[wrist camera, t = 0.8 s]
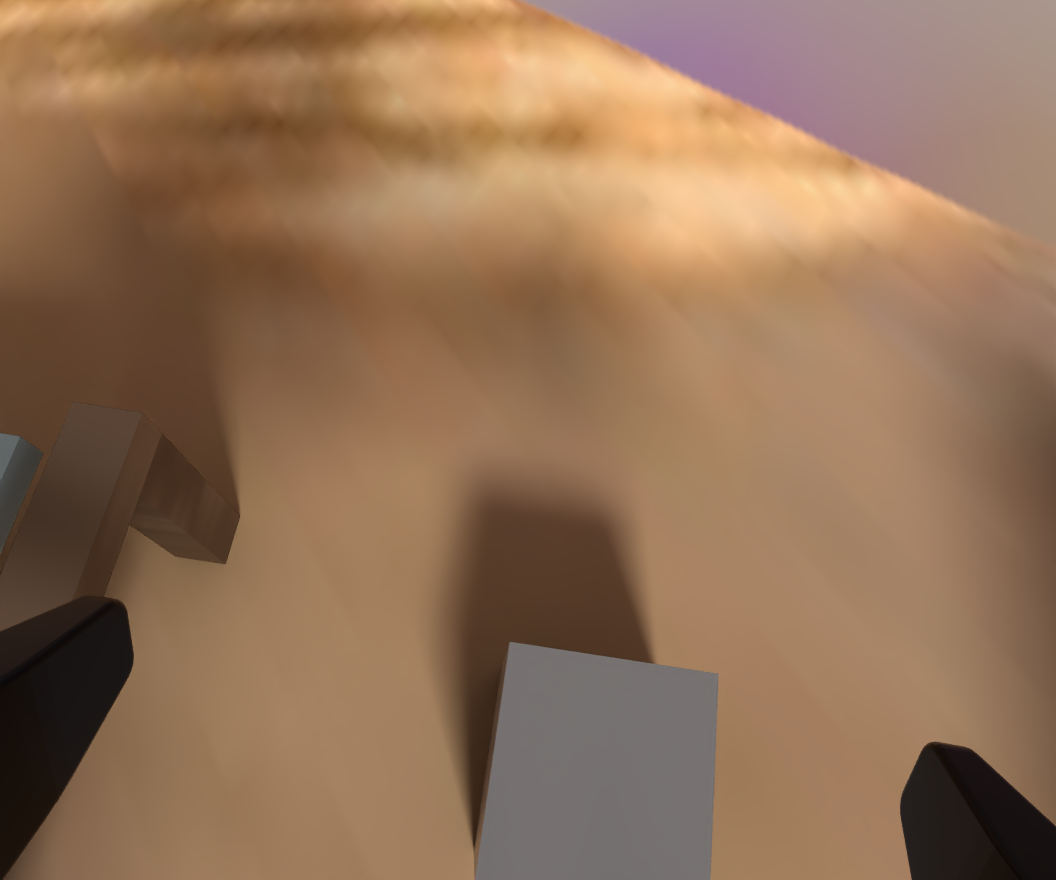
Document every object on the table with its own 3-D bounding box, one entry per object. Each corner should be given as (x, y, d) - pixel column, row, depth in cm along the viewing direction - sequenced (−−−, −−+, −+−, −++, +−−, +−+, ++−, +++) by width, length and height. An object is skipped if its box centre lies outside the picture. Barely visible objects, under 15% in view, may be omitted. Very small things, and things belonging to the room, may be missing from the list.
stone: (648, 878, 22) (708, 917, 16) (473, 851, 22) (474, 882, 16) (660, 694, 24) (718, 673, 18) (501, 670, 24) (509, 641, 18)
